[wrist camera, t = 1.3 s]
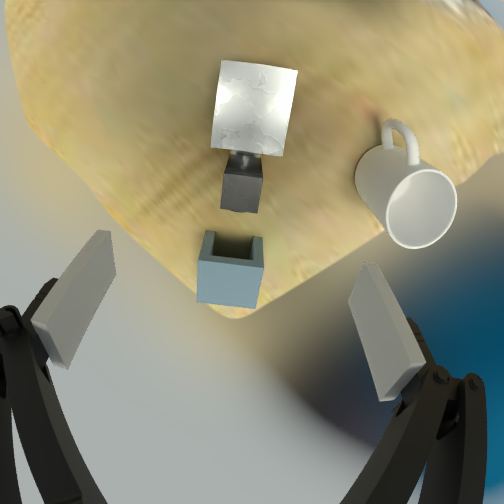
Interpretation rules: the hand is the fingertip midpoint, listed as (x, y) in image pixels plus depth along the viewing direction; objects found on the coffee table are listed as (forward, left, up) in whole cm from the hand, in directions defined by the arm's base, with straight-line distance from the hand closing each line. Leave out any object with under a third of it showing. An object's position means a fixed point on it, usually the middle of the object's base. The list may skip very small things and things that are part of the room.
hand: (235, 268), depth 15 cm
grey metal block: (-7, 0, -20) cm, 21 cm away
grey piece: (-3, 0, -19) cm, 20 cm away
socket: (+12, 0, -20) cm, 24 cm away
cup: (-3, +16, -20) cm, 26 cm away
